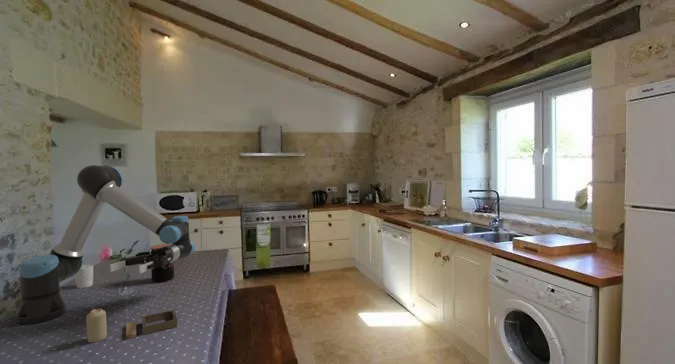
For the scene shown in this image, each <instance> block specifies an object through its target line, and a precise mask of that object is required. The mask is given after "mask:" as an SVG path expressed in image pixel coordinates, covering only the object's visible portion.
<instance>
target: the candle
mask: <svg viewBox="0 0 675 364" xmlns="http://www.w3.org/2000/svg"><path fill="white" fill-rule="evenodd" d="M85 318H86V322H85V323H86V336H87V338H86V339H87V342H88V343H98V342H101V341H103V340H105V339H106V338H107V337H108V330H107V327H108V326H107V325H108V324H107V312H106V311H105V310H103V309H102V308H97V309H96V308H94V309H92V310H91V311H89V313H88V314H87V315H86V317H85Z"/></svg>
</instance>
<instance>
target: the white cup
mask: <svg viewBox="0 0 675 364" xmlns="http://www.w3.org/2000/svg"><path fill="white" fill-rule="evenodd" d="M74 280H75V284H76V288H77V289H83V288H89V287H92V286H93V285H94V264H83V265H82V268H81V269H80V270H79V271H78V272H77V273H76V274H75V275H74Z"/></svg>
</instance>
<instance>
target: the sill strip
mask: <svg viewBox="0 0 675 364" xmlns="http://www.w3.org/2000/svg"><path fill="white" fill-rule="evenodd" d="M125 327H126V329H125V339H126V340H128V339H132V338H133V339H134V338H136V337H137V321H136V320H133V321H128V322H126V325H125Z"/></svg>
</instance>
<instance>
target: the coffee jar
mask: <svg viewBox="0 0 675 364" xmlns="http://www.w3.org/2000/svg"><path fill="white" fill-rule="evenodd" d="M171 244H172V243H171ZM171 244H166V243H162V244H161V243H160V244H156V245H152V246H150V250H151V251H150V254H153V253H154V251H155V250H156V249H158V248H161V247H164V246H168V245H171ZM174 262H175V261H173V262H172V263H168V264H166V265H165V266H164V267H162V268H160V267H158V268H153V269H151V270H150V272H151V281H152V282H154V283H165V282H166V283H167V282H170V281H172V280H173V278H175V266H174V265H175V264H174Z"/></svg>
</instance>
